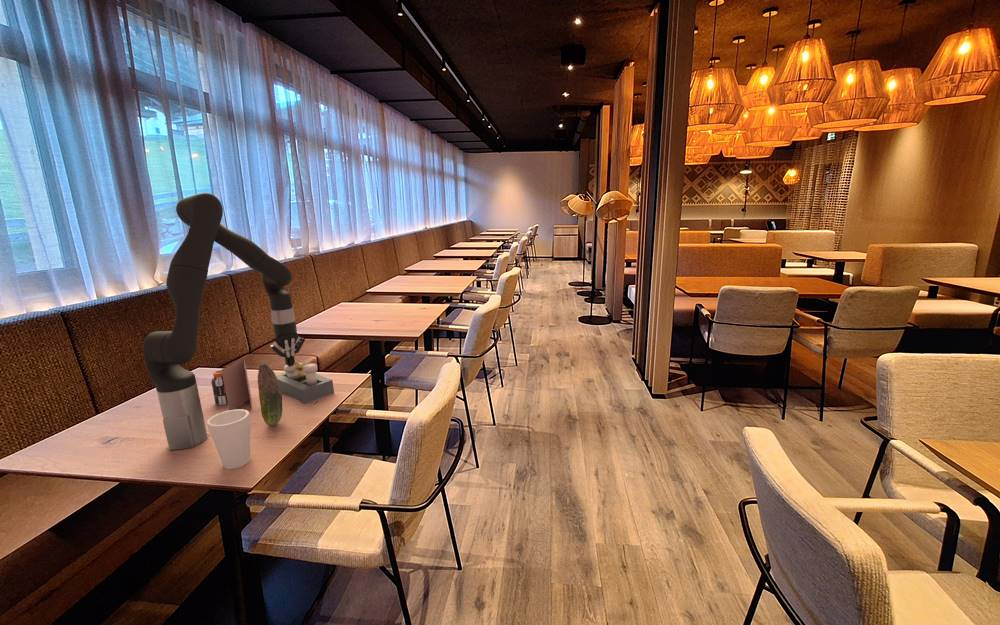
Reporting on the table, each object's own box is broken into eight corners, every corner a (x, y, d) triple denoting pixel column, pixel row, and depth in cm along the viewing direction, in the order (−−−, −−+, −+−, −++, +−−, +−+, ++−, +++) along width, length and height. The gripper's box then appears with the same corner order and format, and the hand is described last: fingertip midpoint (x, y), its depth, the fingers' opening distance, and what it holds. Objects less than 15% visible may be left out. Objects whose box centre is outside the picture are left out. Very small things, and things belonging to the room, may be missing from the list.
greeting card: (249, 397, 159) (241, 357, 156) (268, 397, 159) (261, 357, 155) (227, 412, 148) (218, 369, 145) (248, 412, 148) (240, 369, 144)
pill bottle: (228, 405, 153) (222, 374, 151) (211, 405, 154) (205, 374, 151) (238, 398, 159) (233, 368, 157) (222, 398, 159) (216, 368, 157)
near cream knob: (321, 383, 158) (319, 365, 157) (309, 388, 155) (307, 368, 153) (314, 381, 161) (312, 362, 160) (302, 385, 158) (300, 366, 156)
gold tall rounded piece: (309, 379, 163) (307, 362, 161) (300, 383, 160) (297, 365, 158) (304, 377, 165) (301, 360, 163) (294, 380, 162) (292, 363, 161)
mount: (334, 392, 161) (332, 379, 160) (305, 403, 152) (303, 390, 151) (302, 380, 174) (300, 367, 173) (274, 389, 166) (272, 376, 165)
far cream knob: (302, 382, 168) (299, 365, 166) (290, 386, 164) (287, 368, 162) (296, 380, 170) (293, 362, 169) (284, 384, 167) (281, 366, 165)
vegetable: (262, 422, 140) (252, 362, 135) (284, 417, 143) (275, 358, 138) (264, 430, 135) (253, 368, 130) (287, 424, 138) (277, 363, 133)
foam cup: (263, 452, 123) (256, 408, 120) (246, 471, 114) (237, 425, 111) (228, 453, 122) (220, 410, 119) (208, 473, 113) (198, 426, 110)
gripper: (270, 326, 154) (278, 373, 158) (306, 318, 164) (312, 362, 168) (260, 323, 159) (268, 369, 163) (296, 315, 169) (302, 358, 173)
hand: (290, 365), depth 166 cm, fingers closed
